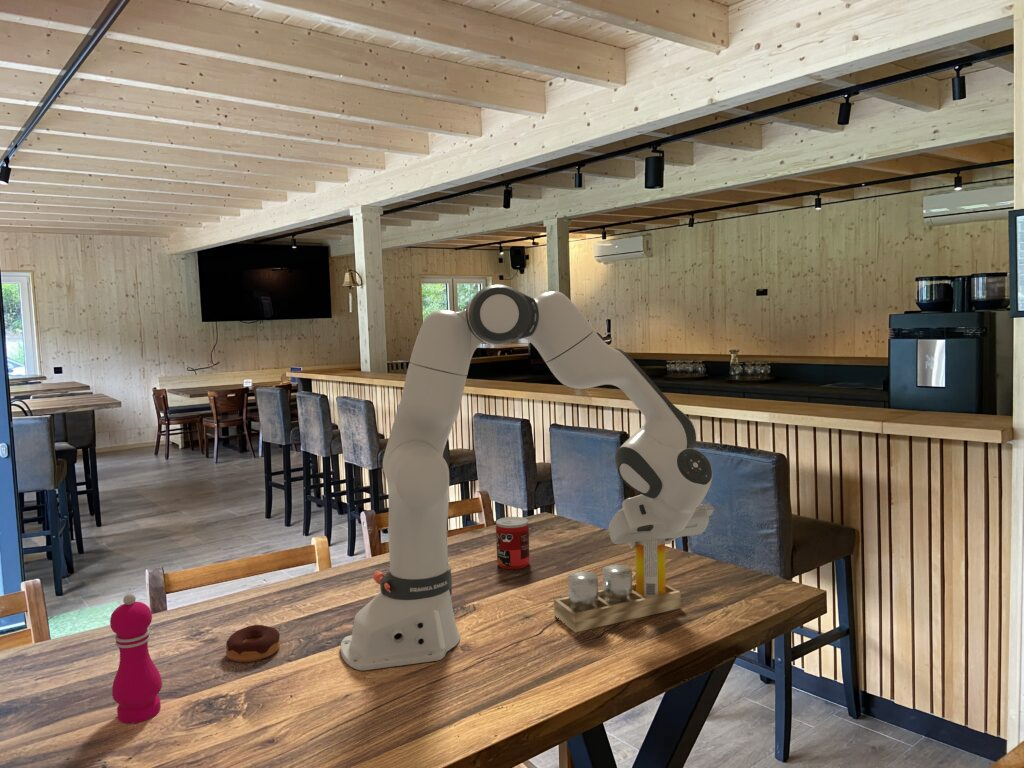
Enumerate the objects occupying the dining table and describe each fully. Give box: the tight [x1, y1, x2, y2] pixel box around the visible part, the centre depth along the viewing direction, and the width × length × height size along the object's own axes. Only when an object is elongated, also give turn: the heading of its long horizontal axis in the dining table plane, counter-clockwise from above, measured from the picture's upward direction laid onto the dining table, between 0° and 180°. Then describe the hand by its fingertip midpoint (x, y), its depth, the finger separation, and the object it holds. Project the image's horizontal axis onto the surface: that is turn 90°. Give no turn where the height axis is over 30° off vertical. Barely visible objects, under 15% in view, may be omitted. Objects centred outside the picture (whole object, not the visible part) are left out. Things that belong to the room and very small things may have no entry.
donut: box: [225, 624, 281, 663], centre depth 145 cm, size 10×10×4 cm
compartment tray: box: [553, 582, 682, 633], centre depth 158 cm, size 25×9×4 cm, turn 114°
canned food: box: [495, 516, 530, 570], centre depth 188 cm, size 8×8×11 cm
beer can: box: [635, 539, 666, 598], centre depth 160 cm, size 6×6×15 cm
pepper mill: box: [109, 593, 163, 724], centre depth 123 cm, size 7×7×20 cm
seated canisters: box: [567, 564, 633, 613], centre depth 156 cm, size 14×6×7 cm, turn 114°
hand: (648, 543), depth 161 cm, fingers closed on beer can, 6 cm apart
